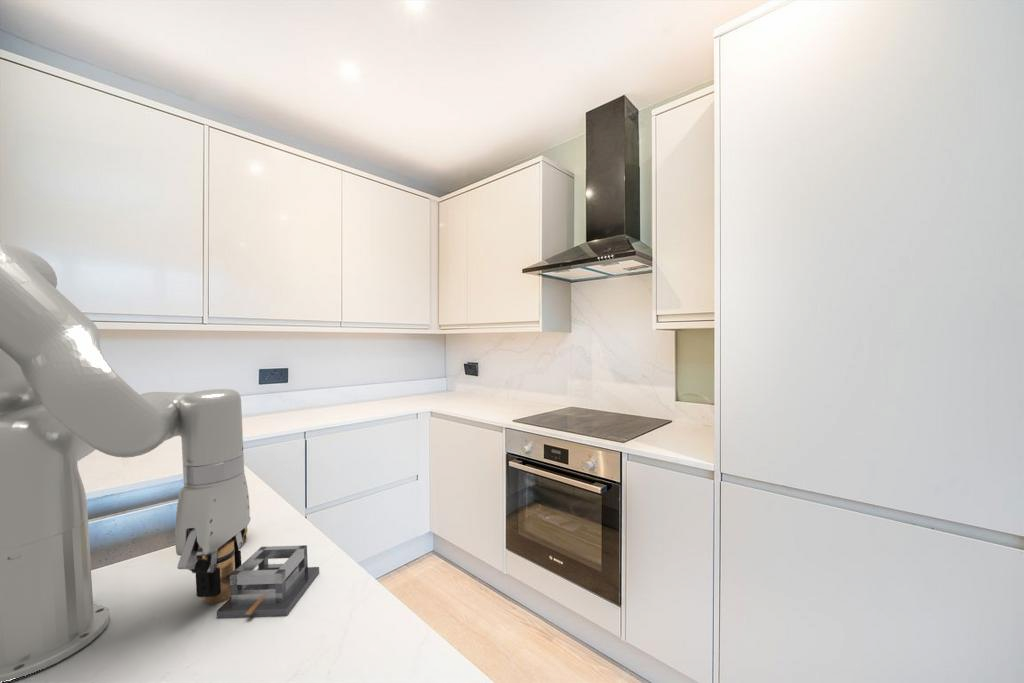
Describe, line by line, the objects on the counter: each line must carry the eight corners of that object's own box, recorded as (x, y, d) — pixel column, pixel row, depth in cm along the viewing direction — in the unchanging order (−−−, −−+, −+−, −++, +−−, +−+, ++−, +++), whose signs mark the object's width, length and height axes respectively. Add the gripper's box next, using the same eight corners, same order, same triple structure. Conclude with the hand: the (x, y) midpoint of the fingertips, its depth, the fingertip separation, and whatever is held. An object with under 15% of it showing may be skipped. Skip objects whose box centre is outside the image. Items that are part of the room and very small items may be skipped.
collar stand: (212, 622, 56) (210, 584, 56) (259, 574, 67) (258, 542, 66) (283, 619, 56) (282, 582, 56) (319, 572, 67) (318, 541, 67)
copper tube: (197, 604, 59) (194, 553, 59) (217, 587, 64) (214, 538, 63) (224, 604, 60) (221, 552, 59) (242, 586, 64) (240, 537, 63)
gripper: (228, 453, 69) (232, 555, 70) (140, 493, 52) (147, 626, 53) (271, 452, 69) (275, 553, 70) (197, 491, 53) (203, 624, 53)
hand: (220, 584), depth 62 cm, fingers closed on copper tube, 4 cm apart
